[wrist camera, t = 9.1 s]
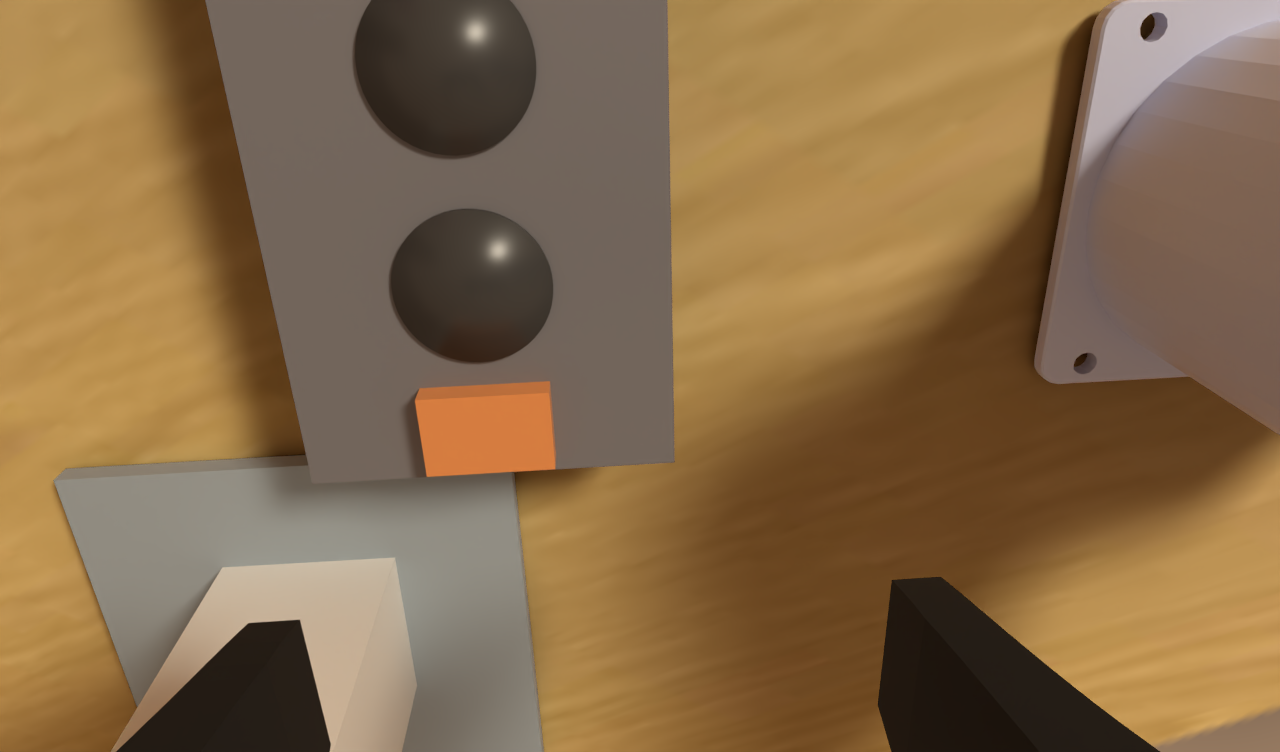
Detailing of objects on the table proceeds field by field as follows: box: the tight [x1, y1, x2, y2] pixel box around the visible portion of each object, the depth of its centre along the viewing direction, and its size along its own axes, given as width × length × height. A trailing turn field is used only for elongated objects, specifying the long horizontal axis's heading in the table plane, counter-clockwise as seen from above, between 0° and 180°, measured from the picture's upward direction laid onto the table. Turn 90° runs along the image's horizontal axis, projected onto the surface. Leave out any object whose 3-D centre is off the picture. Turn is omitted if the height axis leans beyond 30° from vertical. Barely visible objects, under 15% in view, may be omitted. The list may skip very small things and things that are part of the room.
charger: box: [111, 558, 417, 752], centre depth 18 cm, size 4×4×6 cm
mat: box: [53, 455, 544, 752], centre depth 22 cm, size 10×10×1 cm
